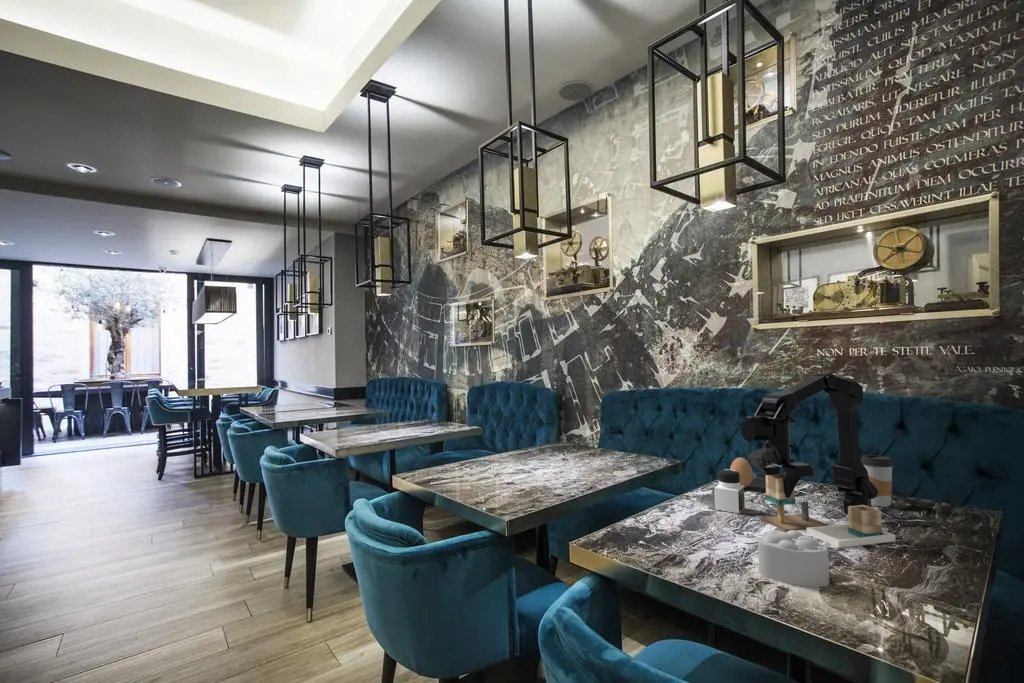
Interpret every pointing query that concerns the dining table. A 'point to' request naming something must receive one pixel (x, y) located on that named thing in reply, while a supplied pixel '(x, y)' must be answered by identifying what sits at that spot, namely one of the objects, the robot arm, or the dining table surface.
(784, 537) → the lumpy-topped squat cylinder
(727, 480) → the medicine bottle
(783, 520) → the pin board
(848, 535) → the feeder tray
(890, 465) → the coffee cup
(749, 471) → the egg
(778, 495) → the oak sleeve
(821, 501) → the dining table surface
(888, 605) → the dining table surface
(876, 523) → the sleeve
